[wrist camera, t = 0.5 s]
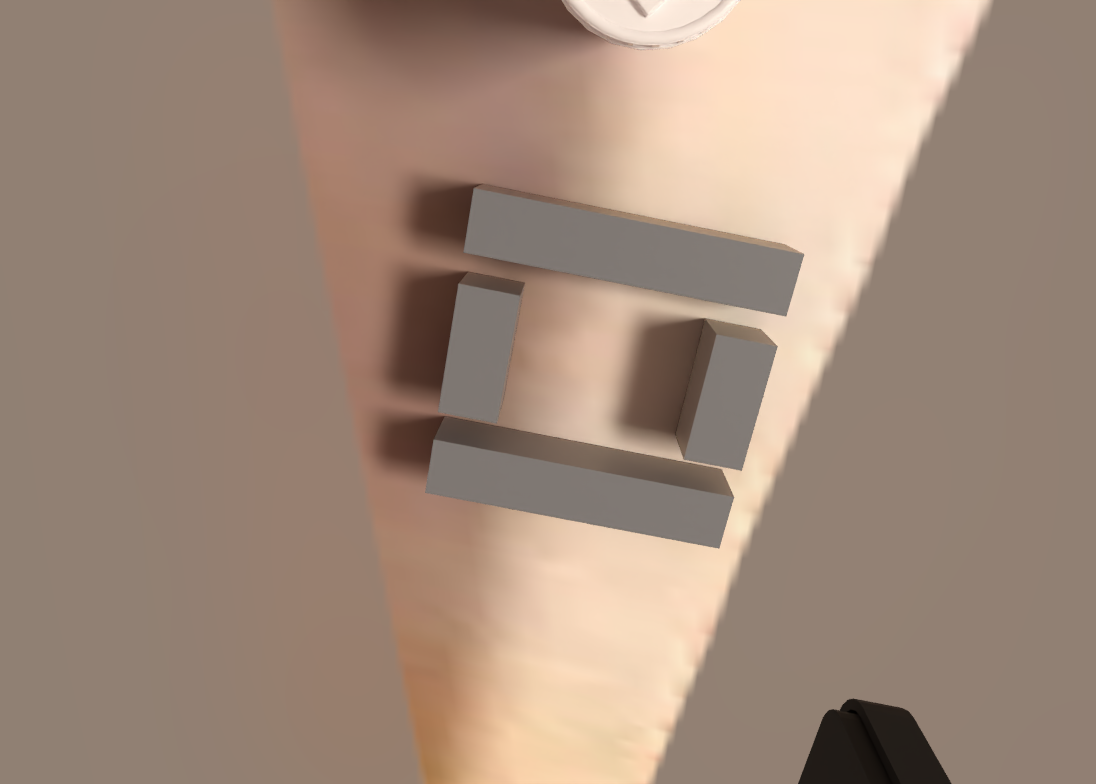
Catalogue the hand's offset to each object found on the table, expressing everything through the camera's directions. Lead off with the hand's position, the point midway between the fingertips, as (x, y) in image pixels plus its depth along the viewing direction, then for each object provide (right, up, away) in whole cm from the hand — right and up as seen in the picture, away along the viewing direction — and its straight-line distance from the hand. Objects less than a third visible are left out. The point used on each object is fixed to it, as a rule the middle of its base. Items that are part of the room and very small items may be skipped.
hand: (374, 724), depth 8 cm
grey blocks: (+4, +5, +27) cm, 28 cm away
